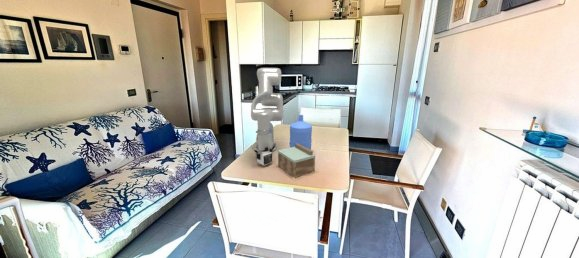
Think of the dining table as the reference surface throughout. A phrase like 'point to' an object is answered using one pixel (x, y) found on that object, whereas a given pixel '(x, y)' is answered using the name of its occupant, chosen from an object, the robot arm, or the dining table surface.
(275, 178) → the dining table surface
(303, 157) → the lid
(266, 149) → the medicine bottle
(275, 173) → the dining table surface
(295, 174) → the wooden box
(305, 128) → the water jug
